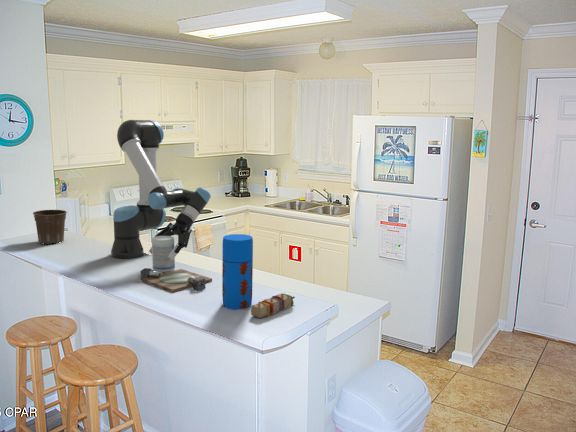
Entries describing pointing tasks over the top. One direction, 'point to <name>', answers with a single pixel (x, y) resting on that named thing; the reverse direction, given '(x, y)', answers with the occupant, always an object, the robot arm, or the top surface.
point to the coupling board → (174, 280)
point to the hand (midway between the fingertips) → (160, 255)
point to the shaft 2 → (197, 283)
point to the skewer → (272, 305)
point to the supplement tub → (162, 253)
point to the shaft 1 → (149, 273)
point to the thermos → (237, 271)
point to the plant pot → (50, 225)
